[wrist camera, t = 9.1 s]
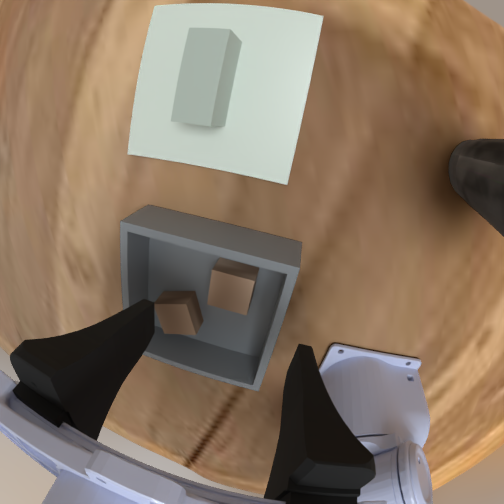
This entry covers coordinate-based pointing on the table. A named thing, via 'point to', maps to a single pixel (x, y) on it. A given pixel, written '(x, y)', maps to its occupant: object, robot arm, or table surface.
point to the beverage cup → (480, 177)
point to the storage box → (198, 279)
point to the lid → (224, 87)
